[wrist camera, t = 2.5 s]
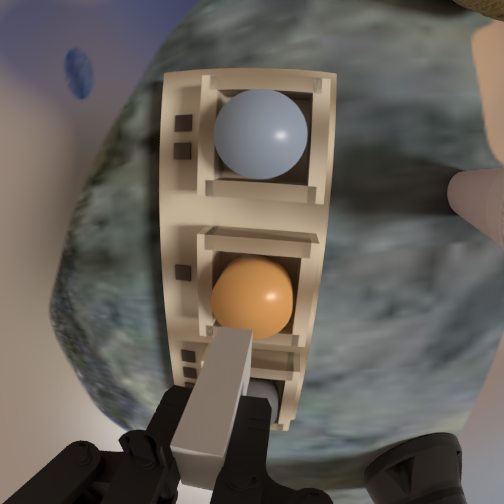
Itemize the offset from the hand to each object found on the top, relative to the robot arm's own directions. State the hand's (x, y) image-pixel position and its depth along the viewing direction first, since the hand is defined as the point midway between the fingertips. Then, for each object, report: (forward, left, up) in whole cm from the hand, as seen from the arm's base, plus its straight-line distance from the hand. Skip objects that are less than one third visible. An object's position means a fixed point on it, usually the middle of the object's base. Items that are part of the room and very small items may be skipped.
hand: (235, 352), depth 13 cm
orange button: (0, 0, -8) cm, 8 cm away
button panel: (0, +1, -11) cm, 11 cm away
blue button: (+10, 0, -8) cm, 12 cm away
